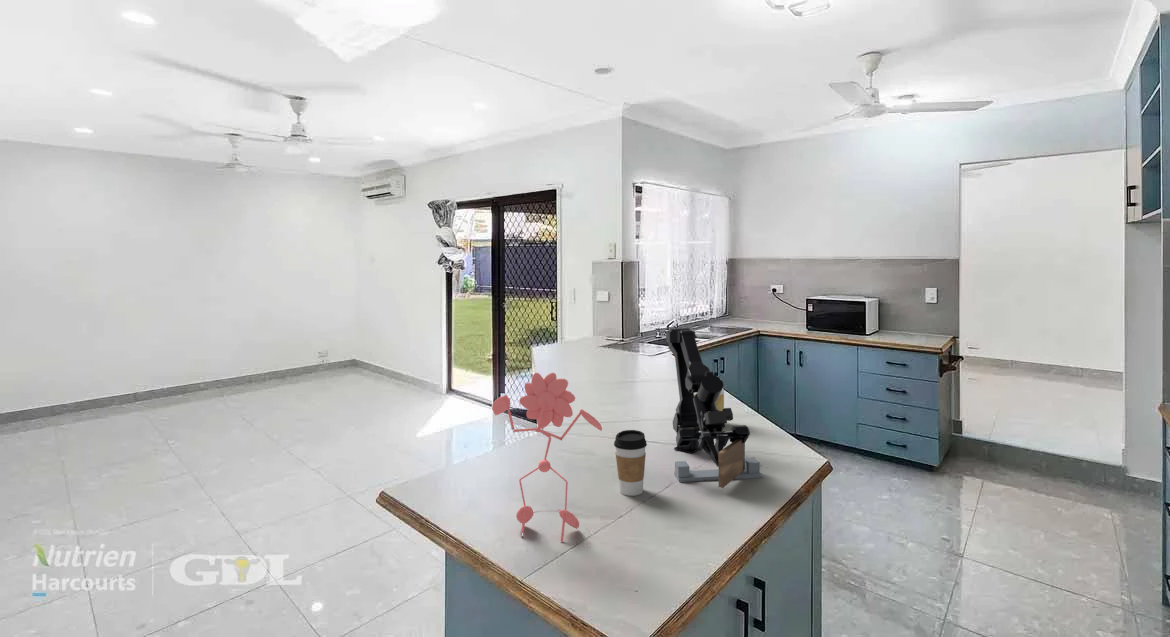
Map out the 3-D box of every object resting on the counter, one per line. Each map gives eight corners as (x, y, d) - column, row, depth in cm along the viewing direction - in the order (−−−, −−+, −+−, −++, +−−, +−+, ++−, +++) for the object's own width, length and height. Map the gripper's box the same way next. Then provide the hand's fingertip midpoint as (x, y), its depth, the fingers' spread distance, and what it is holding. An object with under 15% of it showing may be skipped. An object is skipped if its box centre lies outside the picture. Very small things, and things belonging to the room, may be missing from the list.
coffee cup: (650, 486, 142) (649, 430, 141) (643, 499, 134) (642, 440, 133) (619, 483, 145) (618, 428, 144) (611, 496, 137) (609, 438, 136)
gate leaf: (717, 486, 137) (717, 452, 137) (740, 468, 150) (740, 436, 149) (723, 488, 136) (723, 453, 136) (745, 469, 149) (745, 437, 148)
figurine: (599, 548, 111) (595, 379, 109) (485, 535, 118) (479, 376, 116) (616, 517, 126) (613, 367, 124) (513, 506, 133) (508, 365, 131)
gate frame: (674, 475, 150) (674, 460, 150) (754, 470, 151) (754, 456, 151) (678, 482, 145) (678, 467, 145) (761, 477, 146) (761, 463, 146)
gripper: (678, 398, 142) (689, 454, 132) (747, 395, 143) (764, 450, 133) (671, 419, 150) (681, 472, 141) (737, 416, 152) (751, 469, 142)
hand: (719, 466), depth 139 cm, fingers closed
